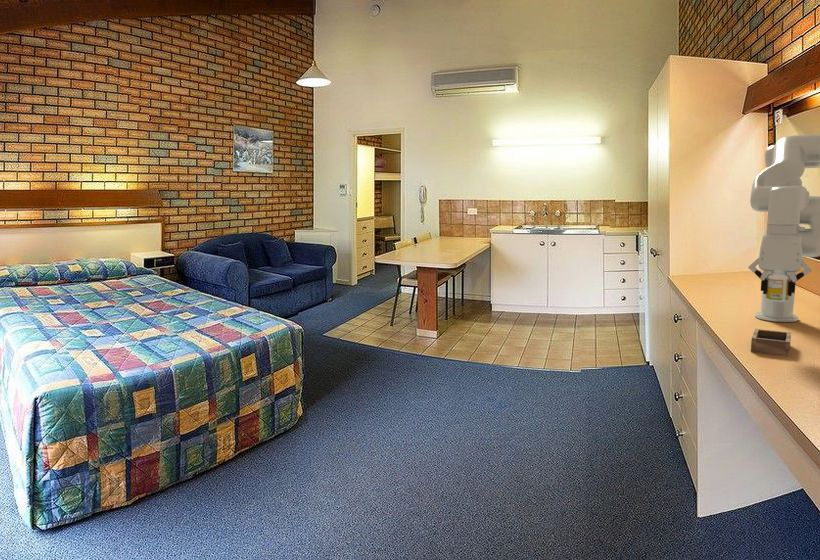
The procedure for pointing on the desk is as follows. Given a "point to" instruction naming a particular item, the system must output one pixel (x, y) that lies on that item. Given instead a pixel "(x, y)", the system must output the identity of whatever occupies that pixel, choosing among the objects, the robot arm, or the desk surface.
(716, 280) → the desk surface
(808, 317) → the desk surface
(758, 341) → the walled box
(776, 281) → the supplement bottle
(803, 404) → the desk surface
